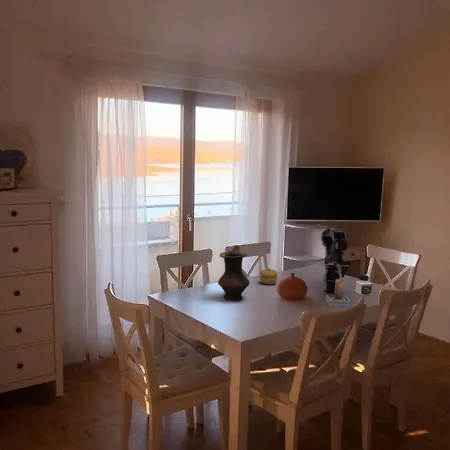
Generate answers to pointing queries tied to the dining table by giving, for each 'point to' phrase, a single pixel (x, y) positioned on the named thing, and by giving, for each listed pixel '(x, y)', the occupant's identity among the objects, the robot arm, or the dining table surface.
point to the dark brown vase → (233, 274)
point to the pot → (268, 276)
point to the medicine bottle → (363, 285)
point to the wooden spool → (338, 290)
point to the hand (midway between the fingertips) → (337, 277)
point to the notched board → (338, 302)
